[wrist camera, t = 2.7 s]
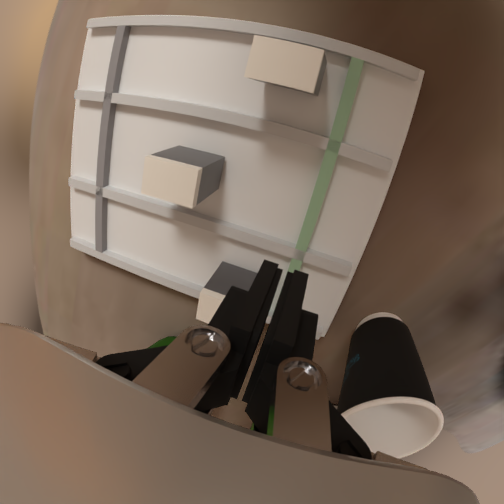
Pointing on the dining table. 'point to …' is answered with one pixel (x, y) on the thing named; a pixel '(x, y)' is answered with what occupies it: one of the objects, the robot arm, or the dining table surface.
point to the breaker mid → (182, 175)
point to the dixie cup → (388, 389)
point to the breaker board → (234, 153)
